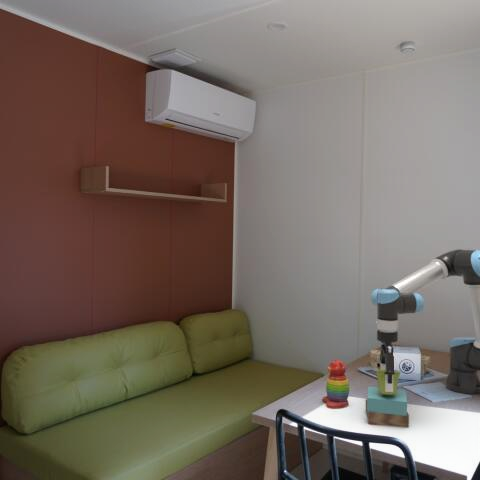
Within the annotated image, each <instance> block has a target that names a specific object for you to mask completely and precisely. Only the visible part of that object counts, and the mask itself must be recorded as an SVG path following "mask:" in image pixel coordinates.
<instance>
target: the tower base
mask: <svg viewBox="0 0 480 480" xmlns="http://www.w3.org/2000/svg"><path fill="white" fill-rule="evenodd" d="M365 414H366V417H367V421H368V425H369V426H370V425H372V426H373V425H374V426H382V427H383V426H387V427H396V428H397V427H401V428H409V425H410V424H409V423H410V422H409V421H410V414H409V412H408V411H407V416H404V415H395V414H386V413H377V412H368V411H367V399H365Z"/></svg>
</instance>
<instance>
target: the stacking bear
mask: <svg viewBox="0 0 480 480" xmlns="http://www.w3.org/2000/svg"><path fill="white" fill-rule="evenodd" d="M346 369H347V367H346V364H345V363H344V362H343V361H342V360H338V359H334V360H333V361H332V362H331V363H330V364H329V366H327V372H328V373H329V375H328V377H327V380H326V384H325V391H326V395H325V396H323V397H322V399H321V400H322V402H323V403H325V404H326V408H327V409H331V410H332V409H335V410H336V409H343V408H347V407H348V406H349V403H350V402H349V400H348V399H349V394H350V384H349V379H348V378H347V376H346V375H345V373H346Z"/></svg>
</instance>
